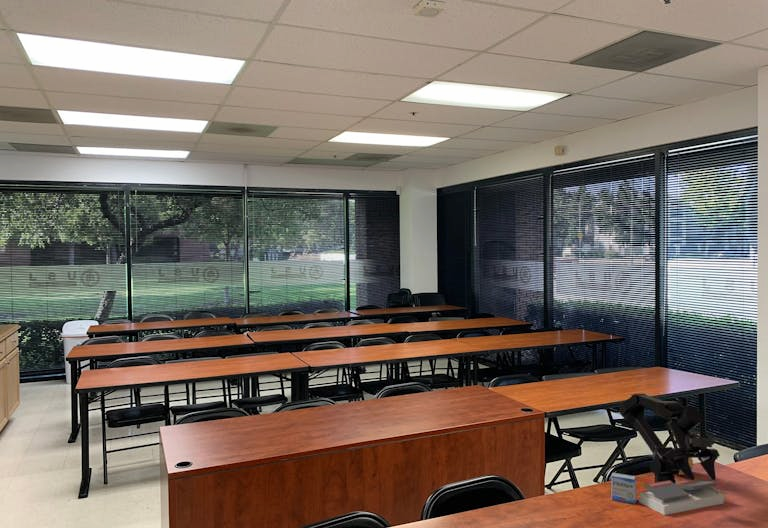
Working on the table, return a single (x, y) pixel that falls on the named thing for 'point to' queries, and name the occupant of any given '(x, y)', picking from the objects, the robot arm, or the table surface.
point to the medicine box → (623, 488)
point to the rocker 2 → (696, 485)
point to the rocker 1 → (666, 491)
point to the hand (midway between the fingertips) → (703, 479)
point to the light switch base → (683, 501)
